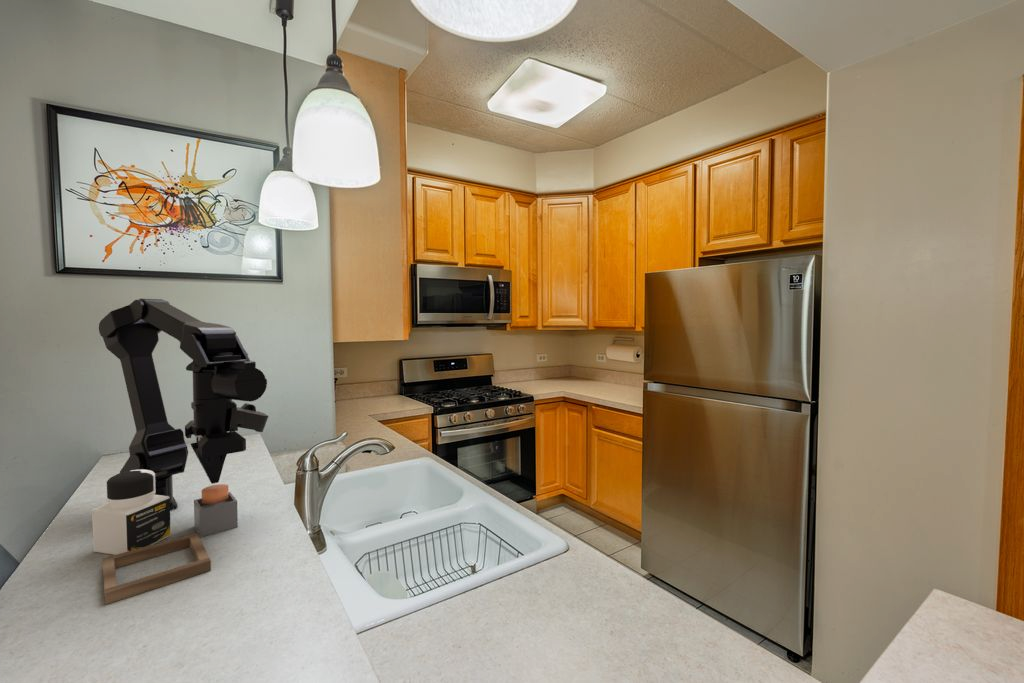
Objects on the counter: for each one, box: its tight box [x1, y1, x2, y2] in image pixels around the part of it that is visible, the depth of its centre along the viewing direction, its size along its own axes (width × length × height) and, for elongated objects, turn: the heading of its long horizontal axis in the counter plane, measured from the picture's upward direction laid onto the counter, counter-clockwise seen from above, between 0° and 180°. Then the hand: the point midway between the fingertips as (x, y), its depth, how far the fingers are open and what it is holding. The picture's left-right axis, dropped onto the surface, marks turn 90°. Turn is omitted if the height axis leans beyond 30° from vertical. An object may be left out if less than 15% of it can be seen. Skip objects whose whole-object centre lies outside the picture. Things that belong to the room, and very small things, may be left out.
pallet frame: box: [102, 532, 212, 605], centre depth 65 cm, size 12×12×2 cm
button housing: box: [193, 491, 239, 538], centre depth 79 cm, size 6×6×5 cm
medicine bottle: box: [91, 469, 172, 556], centre depth 72 cm, size 7×7×12 cm
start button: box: [201, 483, 230, 504], centre depth 79 cm, size 4×4×2 cm
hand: (214, 482), depth 79 cm, fingers closed
